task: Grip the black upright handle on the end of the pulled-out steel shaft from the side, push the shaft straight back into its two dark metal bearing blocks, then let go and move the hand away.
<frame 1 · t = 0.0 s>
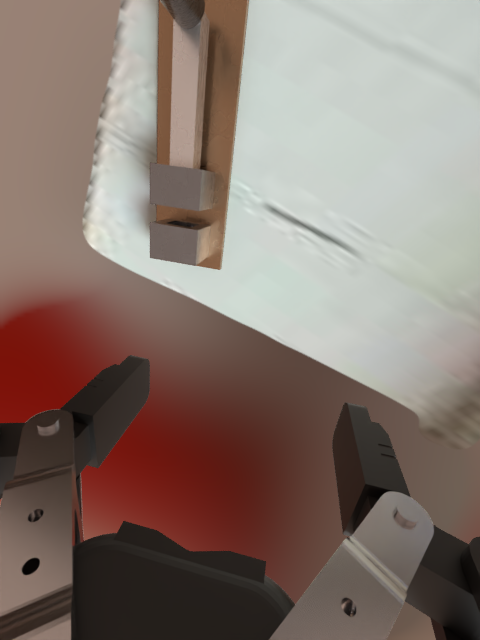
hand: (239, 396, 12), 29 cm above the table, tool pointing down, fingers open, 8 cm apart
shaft: (163, 83, 25), point 10 cm above the table, slide at 8.0 cm
shaft bracket: (194, 174, 37), on the table
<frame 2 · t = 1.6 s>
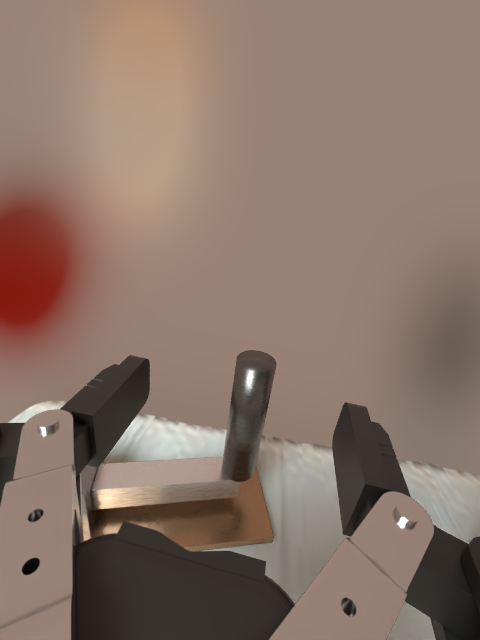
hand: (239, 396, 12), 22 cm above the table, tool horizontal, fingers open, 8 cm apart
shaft: (166, 433, 26), point 10 cm above the table, slide at 8.0 cm
shaft bracket: (93, 510, 29), on the table
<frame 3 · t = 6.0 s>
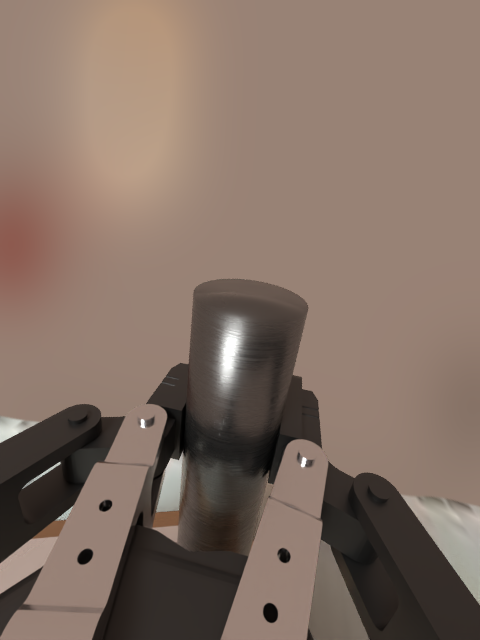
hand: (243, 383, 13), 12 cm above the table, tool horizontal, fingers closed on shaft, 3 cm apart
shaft: (19, 491, 10), point 10 cm above the table, slide at 8.0 cm, touching gripper
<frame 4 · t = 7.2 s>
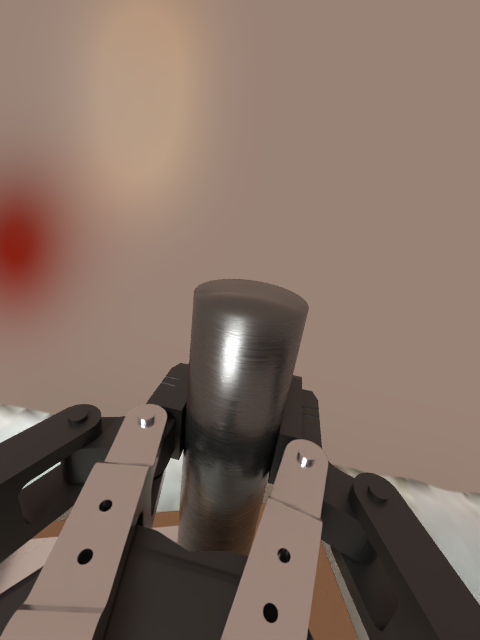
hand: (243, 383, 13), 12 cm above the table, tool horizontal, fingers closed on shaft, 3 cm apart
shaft: (19, 491, 10), point 10 cm above the table, slide at 3.9 cm, touching gripper
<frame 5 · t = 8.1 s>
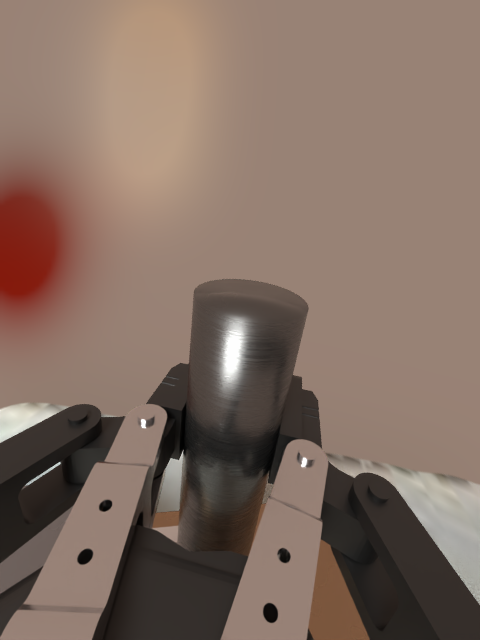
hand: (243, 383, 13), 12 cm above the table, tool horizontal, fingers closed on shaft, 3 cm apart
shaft: (19, 492, 10), point 10 cm above the table, slide at 0.0 cm, touching gripper
shaft bracket: (89, 622, 14), on the table
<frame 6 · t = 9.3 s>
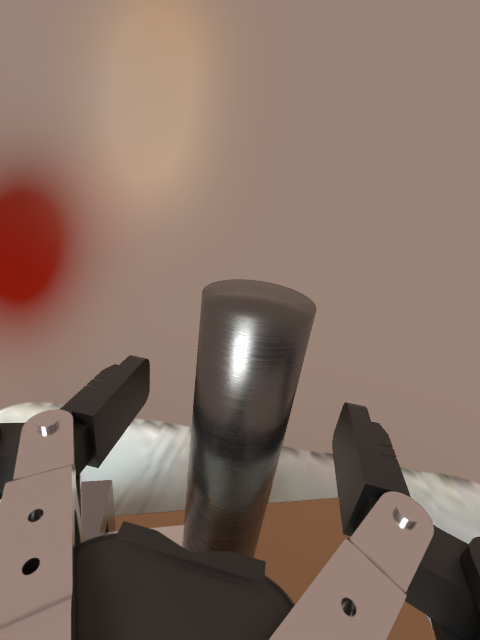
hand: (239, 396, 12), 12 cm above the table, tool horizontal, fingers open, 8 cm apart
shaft: (27, 491, 10), point 10 cm above the table, slide at 0.0 cm
shaft bracket: (94, 621, 14), on the table
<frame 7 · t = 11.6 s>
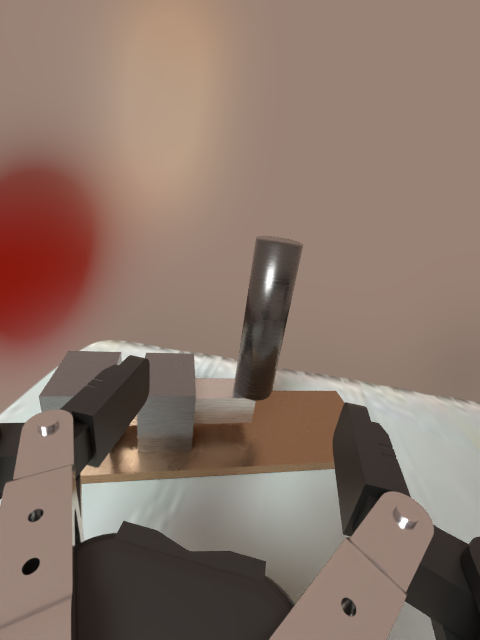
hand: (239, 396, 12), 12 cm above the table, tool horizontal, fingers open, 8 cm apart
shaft: (170, 334, 22), point 10 cm above the table, slide at 0.0 cm
shaft bracket: (184, 431, 26), on the table
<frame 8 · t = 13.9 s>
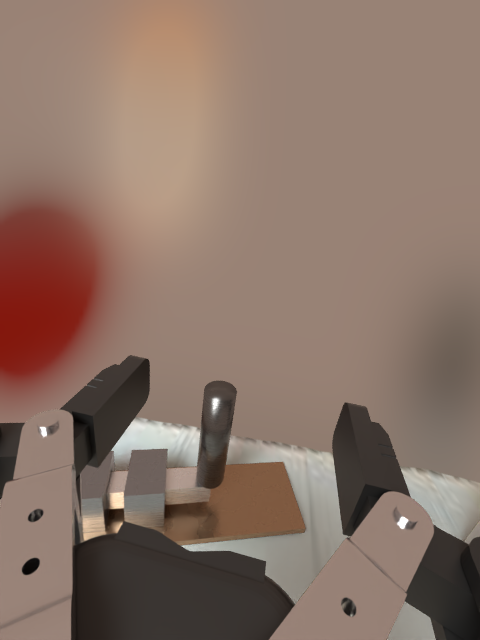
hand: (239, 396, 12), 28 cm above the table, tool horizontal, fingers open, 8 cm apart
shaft: (147, 448, 31), point 10 cm above the table, slide at 0.0 cm
shaft bracket: (160, 506, 36), on the table
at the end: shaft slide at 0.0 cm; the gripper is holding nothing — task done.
